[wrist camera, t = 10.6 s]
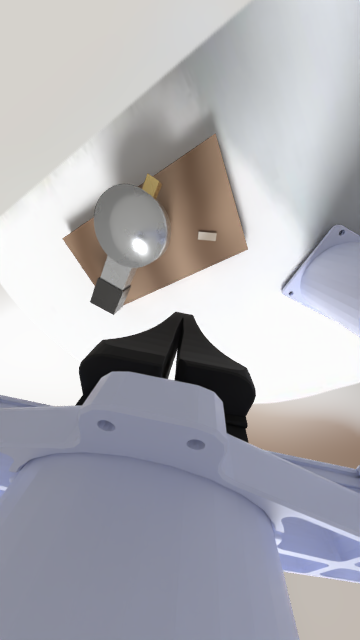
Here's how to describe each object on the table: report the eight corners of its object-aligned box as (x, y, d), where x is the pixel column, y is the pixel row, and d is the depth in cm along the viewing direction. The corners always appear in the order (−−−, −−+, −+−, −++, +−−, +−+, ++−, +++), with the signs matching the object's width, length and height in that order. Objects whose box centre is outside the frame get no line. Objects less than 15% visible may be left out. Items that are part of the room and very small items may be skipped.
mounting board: (244, 248, 19) (250, 250, 16) (116, 306, 24) (108, 313, 22) (214, 142, 15) (216, 126, 13) (71, 238, 20) (55, 238, 18)
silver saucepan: (128, 162, 14) (110, 146, 11) (188, 204, 15) (186, 198, 12) (90, 286, 20) (73, 295, 17) (135, 312, 21) (126, 323, 18)
